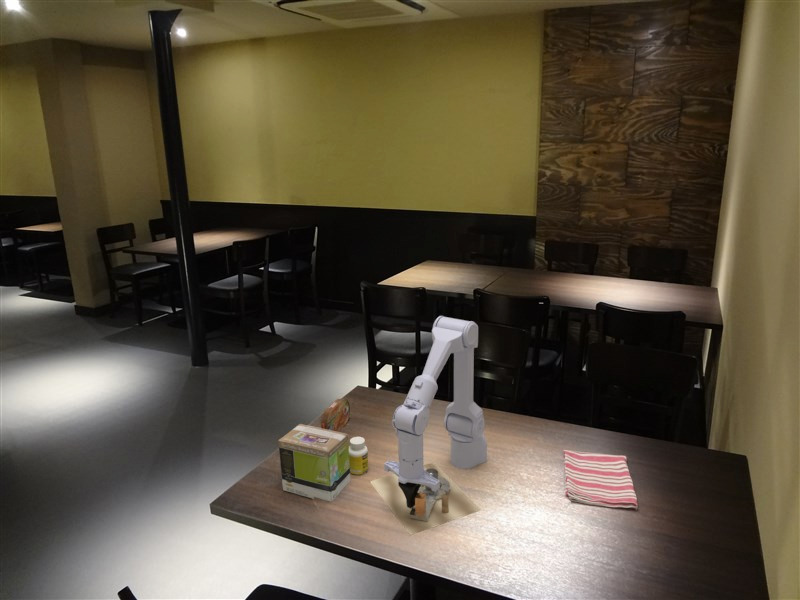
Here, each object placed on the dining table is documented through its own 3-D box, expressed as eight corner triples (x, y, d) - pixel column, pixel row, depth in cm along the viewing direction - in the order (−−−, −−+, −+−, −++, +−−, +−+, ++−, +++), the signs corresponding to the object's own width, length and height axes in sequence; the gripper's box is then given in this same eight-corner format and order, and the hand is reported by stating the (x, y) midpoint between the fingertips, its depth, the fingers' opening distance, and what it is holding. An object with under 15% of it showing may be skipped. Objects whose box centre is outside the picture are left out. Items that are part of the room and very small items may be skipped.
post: (434, 484, 143) (434, 467, 141) (440, 491, 140) (440, 473, 138) (423, 487, 141) (422, 470, 140) (429, 494, 138) (429, 477, 137)
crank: (419, 475, 146) (419, 458, 144) (452, 481, 143) (453, 464, 142) (399, 516, 130) (399, 497, 129) (437, 523, 128) (437, 504, 126)
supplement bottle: (365, 479, 147) (364, 446, 144) (345, 477, 148) (344, 444, 145) (370, 468, 152) (369, 435, 149) (351, 466, 153) (350, 434, 150)
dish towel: (564, 504, 136) (565, 491, 135) (562, 453, 158) (562, 442, 157) (638, 514, 132) (640, 501, 131) (626, 461, 154) (627, 449, 153)
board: (433, 465, 153) (433, 462, 152) (481, 513, 133) (481, 509, 132) (369, 484, 145) (369, 481, 144) (410, 538, 125) (410, 535, 124)
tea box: (351, 483, 145) (349, 432, 141) (331, 505, 137) (328, 452, 133) (303, 470, 152) (300, 421, 147) (281, 491, 143) (276, 439, 139)
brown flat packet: (329, 441, 166) (327, 416, 163) (320, 440, 167) (318, 414, 164) (351, 418, 179) (350, 394, 177) (342, 417, 180) (341, 393, 178)
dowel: (446, 508, 133) (446, 493, 132) (449, 512, 132) (449, 497, 131) (440, 510, 133) (440, 495, 131) (443, 514, 131) (444, 499, 130)
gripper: (375, 452, 129) (377, 503, 133) (427, 473, 120) (427, 527, 124) (393, 439, 134) (395, 488, 138) (444, 459, 126) (444, 510, 130)
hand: (411, 505), depth 131 cm, fingers closed
